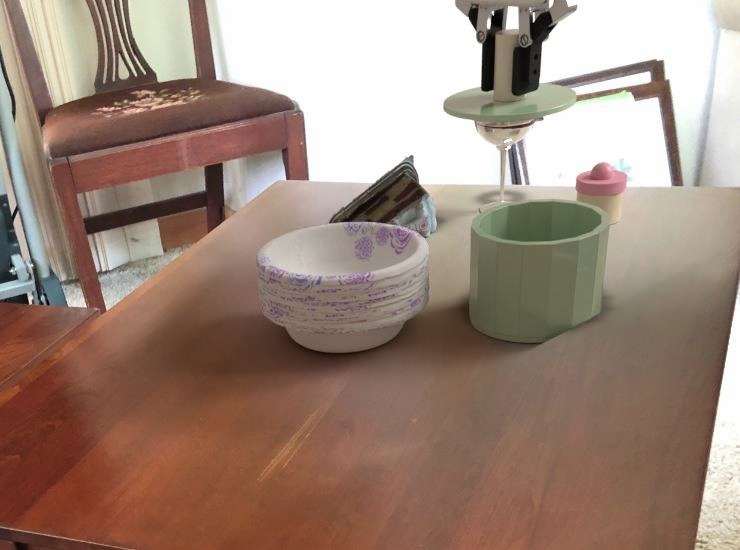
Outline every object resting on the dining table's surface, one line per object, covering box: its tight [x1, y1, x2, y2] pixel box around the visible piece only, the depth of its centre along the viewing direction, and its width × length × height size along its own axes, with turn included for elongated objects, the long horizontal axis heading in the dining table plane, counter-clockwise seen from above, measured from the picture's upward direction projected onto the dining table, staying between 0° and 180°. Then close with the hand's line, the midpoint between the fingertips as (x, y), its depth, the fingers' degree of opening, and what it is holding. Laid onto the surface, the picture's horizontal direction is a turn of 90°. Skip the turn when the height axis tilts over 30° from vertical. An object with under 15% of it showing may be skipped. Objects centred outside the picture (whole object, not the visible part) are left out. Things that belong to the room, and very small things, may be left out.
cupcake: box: [575, 161, 628, 226], centre depth 103 cm, size 5×5×6 cm
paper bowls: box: [255, 222, 430, 354], centre depth 86 cm, size 15×15×8 cm
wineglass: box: [473, 119, 537, 213], centre depth 106 cm, size 7×7×12 cm
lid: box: [442, 28, 578, 123], centre depth 90 cm, size 12×12×7 cm
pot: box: [468, 198, 611, 344], centre depth 84 cm, size 11×11×8 cm
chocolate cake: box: [327, 154, 438, 238], centre depth 106 cm, size 10×7×12 cm
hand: (509, 88), depth 90 cm, fingers closed on lid, 3 cm apart
